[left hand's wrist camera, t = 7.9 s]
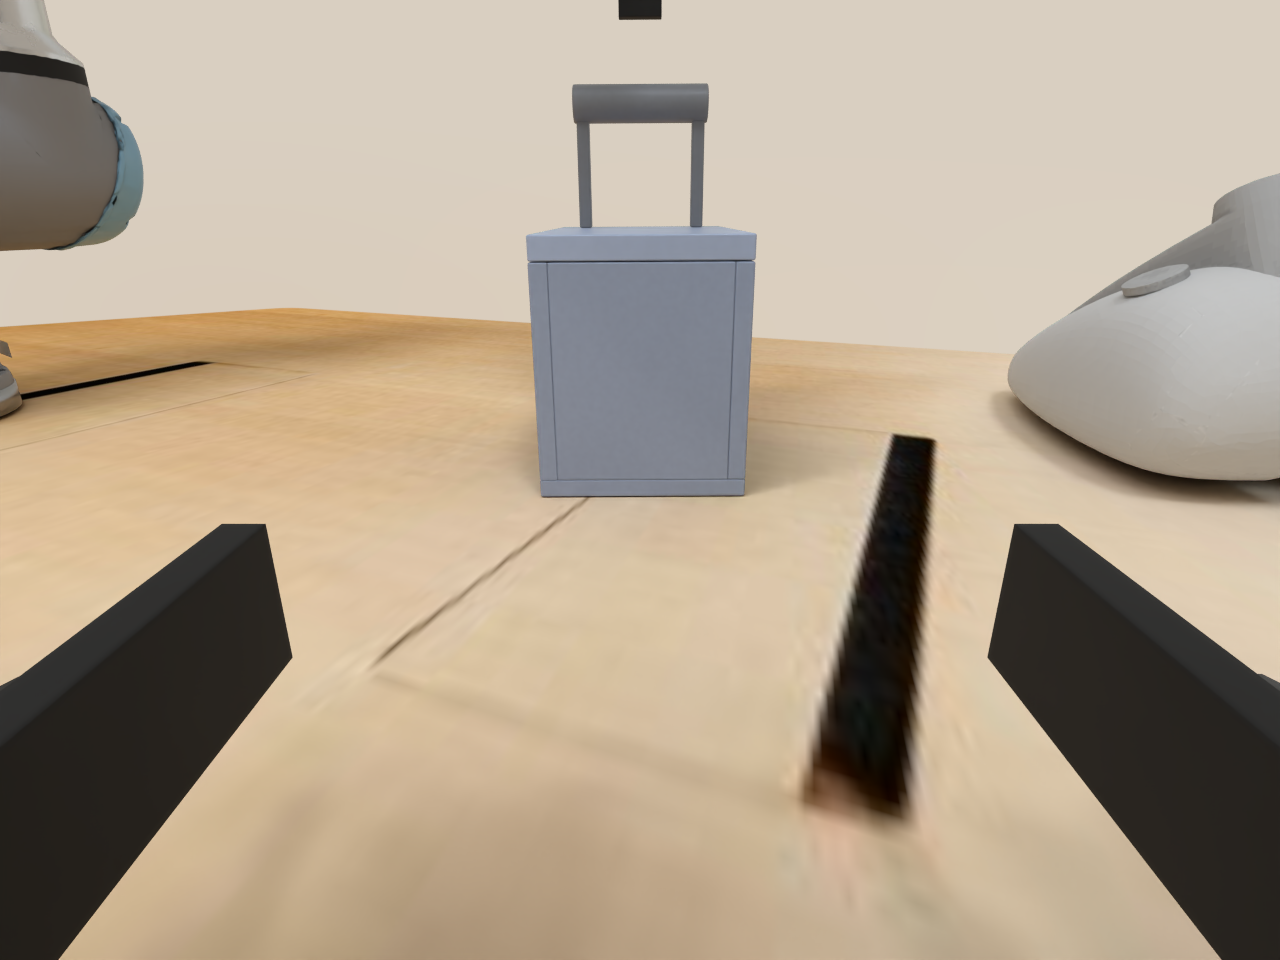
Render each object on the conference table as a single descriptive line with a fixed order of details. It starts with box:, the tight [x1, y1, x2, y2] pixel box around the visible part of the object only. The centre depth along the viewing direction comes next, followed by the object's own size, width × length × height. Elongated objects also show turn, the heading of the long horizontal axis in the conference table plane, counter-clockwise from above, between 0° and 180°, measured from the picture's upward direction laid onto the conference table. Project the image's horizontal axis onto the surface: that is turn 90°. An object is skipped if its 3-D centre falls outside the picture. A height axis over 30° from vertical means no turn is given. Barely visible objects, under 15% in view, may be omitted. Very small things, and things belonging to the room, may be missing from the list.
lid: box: [526, 84, 757, 262], centre depth 37 cm, size 16×10×9 cm, turn 0°
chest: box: [528, 260, 755, 496], centre depth 41 cm, size 15×10×11 cm, turn 0°
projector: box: [1008, 174, 1280, 480], centre depth 39 cm, size 22×23×15 cm
